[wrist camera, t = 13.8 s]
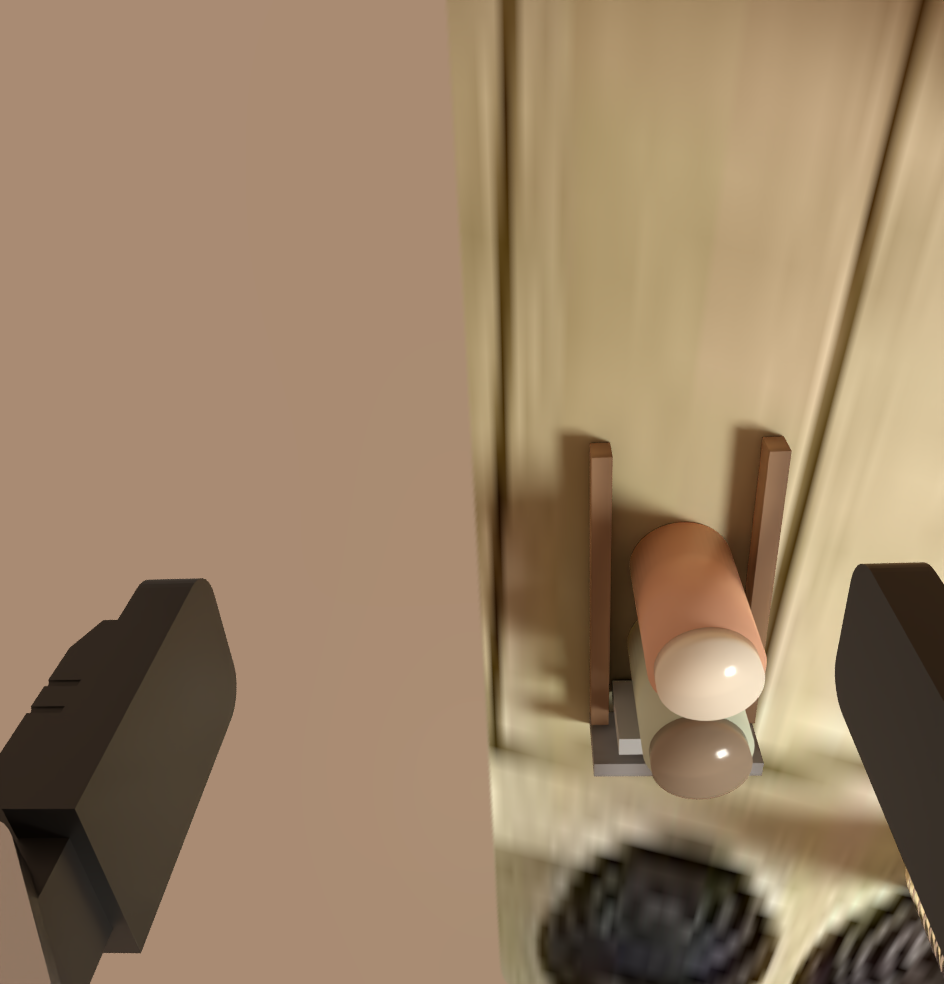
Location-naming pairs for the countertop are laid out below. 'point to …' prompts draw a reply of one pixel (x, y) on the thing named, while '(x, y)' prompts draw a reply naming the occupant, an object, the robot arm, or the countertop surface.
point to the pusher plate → (626, 718)
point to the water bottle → (925, 922)
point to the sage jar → (687, 740)
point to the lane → (602, 720)
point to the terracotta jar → (696, 623)
